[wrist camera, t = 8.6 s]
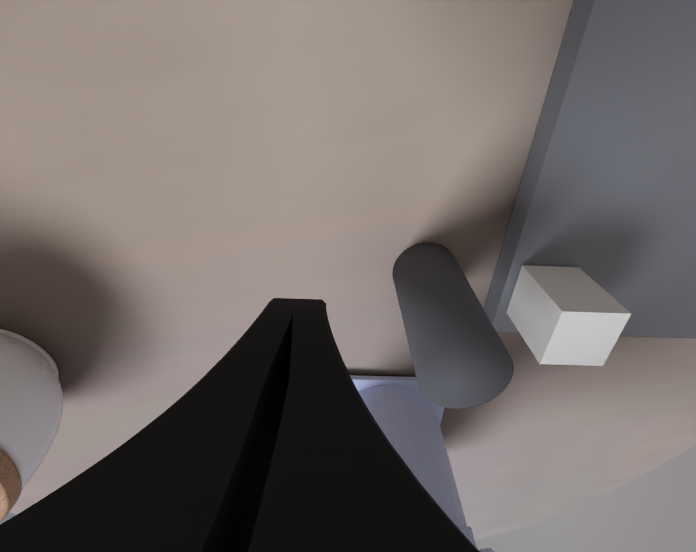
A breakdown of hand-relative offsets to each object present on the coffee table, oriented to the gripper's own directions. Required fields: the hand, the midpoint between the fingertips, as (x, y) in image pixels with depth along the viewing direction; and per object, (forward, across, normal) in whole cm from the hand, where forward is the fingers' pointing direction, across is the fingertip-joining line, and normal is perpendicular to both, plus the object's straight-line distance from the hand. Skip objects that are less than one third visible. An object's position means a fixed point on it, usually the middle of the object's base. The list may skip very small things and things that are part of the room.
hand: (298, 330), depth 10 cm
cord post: (+10, -6, +4) cm, 13 cm away
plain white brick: (+9, -12, +4) cm, 15 cm away
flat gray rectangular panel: (+10, -17, -1) cm, 20 cm away
